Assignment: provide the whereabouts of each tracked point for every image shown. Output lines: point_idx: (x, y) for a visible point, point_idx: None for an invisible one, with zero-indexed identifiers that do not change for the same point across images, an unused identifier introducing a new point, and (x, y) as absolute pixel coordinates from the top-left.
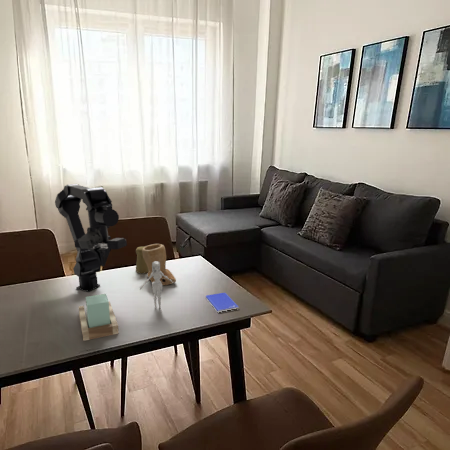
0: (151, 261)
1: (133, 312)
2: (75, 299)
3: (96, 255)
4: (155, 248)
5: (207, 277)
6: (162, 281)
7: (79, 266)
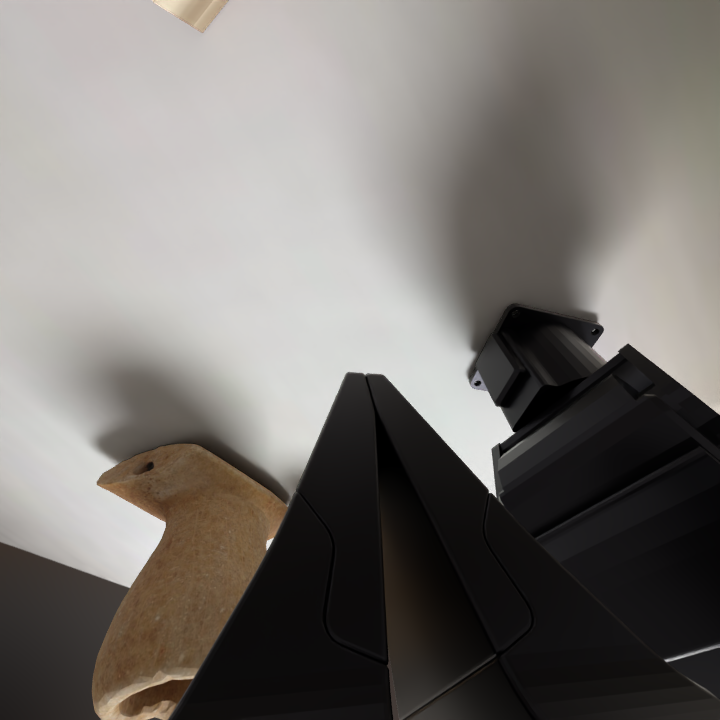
0: (174, 577)
1: (32, 81)
2: (566, 182)
3: (525, 563)
4: (119, 701)
5: (55, 529)
6: (153, 462)
7: (704, 403)
